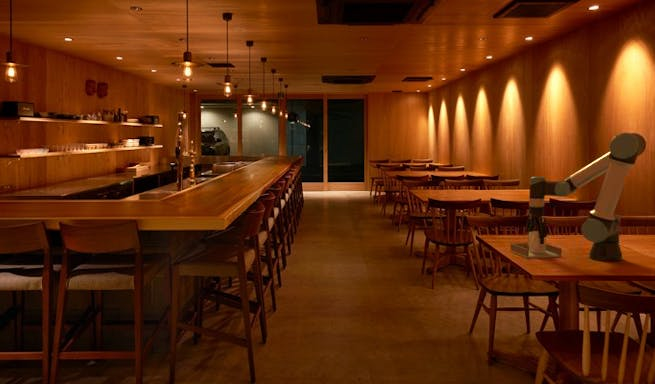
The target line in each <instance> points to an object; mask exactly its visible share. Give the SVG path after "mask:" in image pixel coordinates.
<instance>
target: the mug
mask: <svg viewBox="0 0 655 384" xmlns="http://www.w3.org/2000/svg"><path fill="white" fill-rule="evenodd" d="M544 235H545V234H544ZM538 237H539V233H538V230H533V231H531V232H529V251H530V252H531V253H544V252H545V251H546V240H547V237H545V238H544V250H538Z"/></svg>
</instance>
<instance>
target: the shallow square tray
mask: <svg viewBox="0 0 655 384" xmlns="http://www.w3.org/2000/svg"><path fill="white" fill-rule="evenodd" d="M509 248H510V252H511V253H513V254H515V255H518V256H521V257H523V258H525V259H541V258H542V259H546V258H548V259H549V258H562V247H559V246H555V245H552V244H550V243H546V251H545V252H544V253H531V252H530V251H529V246H528V242H517V243H516V242H515V243H514V242H512V243H510V247H509Z"/></svg>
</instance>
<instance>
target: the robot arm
mask: <svg viewBox="0 0 655 384" xmlns="http://www.w3.org/2000/svg"><path fill="white" fill-rule="evenodd" d="M608 148H609V151H608V152H606V153H605V154H604V155H602V156H600V157H599V158H597V159H595V160H594V161H593V162H591V163H589V164H588V165H586V166H584V167H582V168H581V169H580V170H578V171H576V172H575V173H573V174H571V175H570V176H568V177H566V178H565V179H563V180H557V181H553V180H552V181H550V180H549V181H548V180H546V178H545V177H544V176H532V177H530V179H529V198H528V206H529V207H528V213H529V214H527V220H526V224H525V225H526V226H525V233H526V234H527V243H528V246H529V232H531V231H535V230H534V229H535V227H536V229H537V230H536V231H538V233H539V237H538V250H544V238H545V237H546V238H547V237H548V235H547V234H548V233H547V227H546V225H547V224H546V217H543V216H542V215H544V214H545V201H546V200H545V198H546V197H545V196H549V197H559V198H561V197H562V198H563V197H569V195H571V194H573V193H575V191H576V190H579V189H580V188H582V187H583V186H585V185H587V184H588V183H590V182H591V181H593V180H594V179H596V178H598V177H600V176H601V175H603V174H605V173H606V174H605V176H604V179H603V182H602V185H601V188H600V191H599V194H598V197H597V200H596V203H595V206H594V208H593V209H592V210H590V211H589V214H588V216H587V218H586V220H585V221H584V222H583V223H582V225H581V228H580V229H581V230H580V231H581V234H582V236H583V237H584V238H585V239H586V240H587V241H588V242H591V243H592V246H591V248H590V251H589V253H588V258H590V259H592V260H596V261H602V262H620V261H623V254H622V250H621V247H620V232H621V231H620V230H621V227H620V225H621V215H619V214H617V213H616V214H614V212H615V210H616V208H617V205H618V202H619V199H620V196H621V193H622V190H623V187H624V184H625V183H626V179H627V176H628V173H629V171H630V168H631V167H633V166H635V163H636V162H637V159H638V157H639V156H641V155H643V153H644V152H645V150H646V148H647V142H646V139H645V137H644V136H642V135H641V134H639V133H635V132H621V133H619V134H617V135H615V136H614V137H613V138H612V139H611V141H610V143H609V147H608ZM544 234H545V235H544Z"/></svg>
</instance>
